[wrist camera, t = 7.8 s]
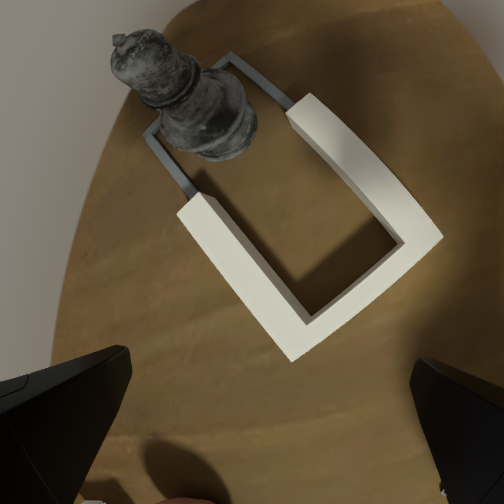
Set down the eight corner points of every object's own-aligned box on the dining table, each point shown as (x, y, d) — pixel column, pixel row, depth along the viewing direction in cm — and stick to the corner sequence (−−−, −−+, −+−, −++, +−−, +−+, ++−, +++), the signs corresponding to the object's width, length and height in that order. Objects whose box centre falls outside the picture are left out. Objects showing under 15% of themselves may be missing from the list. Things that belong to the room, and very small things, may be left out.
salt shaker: (191, 94, 22) (89, 8, 10) (266, 90, 20) (191, -29, 8) (178, 165, 22) (49, 108, 10) (256, 168, 20) (154, 83, 9)
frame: (299, 109, 19) (298, 106, 19) (195, 203, 21) (193, 203, 21) (232, 53, 21) (230, 50, 20) (144, 136, 23) (141, 135, 22)
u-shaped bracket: (431, 238, 17) (443, 236, 15) (298, 349, 19) (291, 362, 17) (314, 109, 19) (309, 92, 17) (194, 217, 21) (176, 214, 19)
